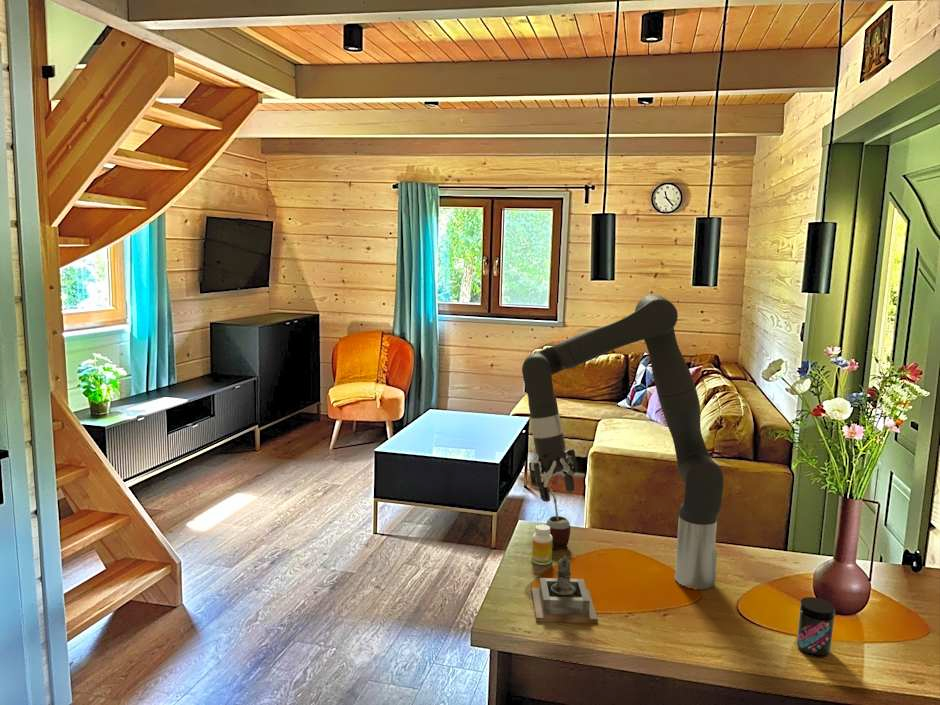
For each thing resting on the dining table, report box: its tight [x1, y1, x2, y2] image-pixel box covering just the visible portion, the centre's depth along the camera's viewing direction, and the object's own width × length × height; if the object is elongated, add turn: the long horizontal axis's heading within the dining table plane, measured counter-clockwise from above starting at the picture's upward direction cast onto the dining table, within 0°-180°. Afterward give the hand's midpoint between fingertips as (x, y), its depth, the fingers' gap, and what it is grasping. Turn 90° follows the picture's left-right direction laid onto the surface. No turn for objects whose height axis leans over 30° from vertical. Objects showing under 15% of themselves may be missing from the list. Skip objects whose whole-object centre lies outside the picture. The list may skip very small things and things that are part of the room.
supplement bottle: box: [531, 523, 553, 566], centre depth 195 cm, size 5×5×10 cm
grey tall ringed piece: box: [551, 554, 576, 597], centre depth 171 cm, size 6×6×12 cm
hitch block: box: [531, 577, 599, 624], centre depth 172 cm, size 14×14×4 cm
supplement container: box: [796, 596, 836, 658], centre depth 155 cm, size 7×7×10 cm
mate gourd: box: [545, 488, 571, 551], centre depth 205 cm, size 8×8×15 cm
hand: (558, 496), depth 181 cm, fingers open, 8 cm apart
